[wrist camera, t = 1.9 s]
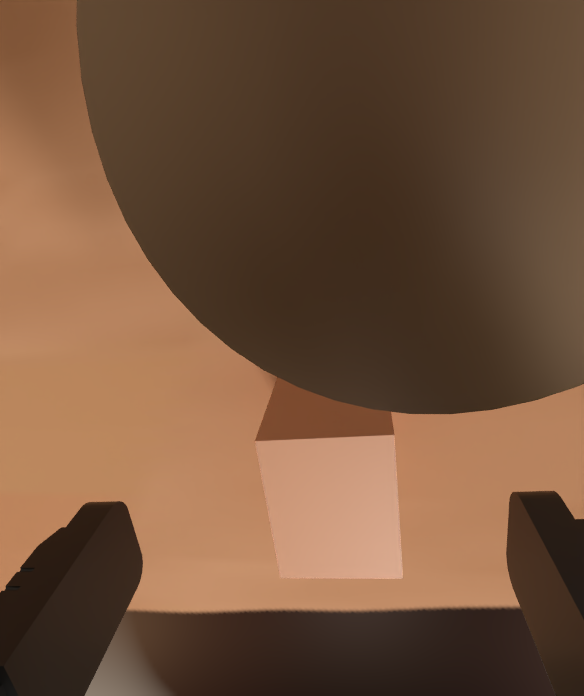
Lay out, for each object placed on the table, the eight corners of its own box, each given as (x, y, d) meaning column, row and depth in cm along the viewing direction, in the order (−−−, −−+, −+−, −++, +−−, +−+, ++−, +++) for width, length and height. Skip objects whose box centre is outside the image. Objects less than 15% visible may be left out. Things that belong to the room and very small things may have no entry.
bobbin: (522, -46, 11) (1161, -839, 2) (511, 246, 14) (800, 396, 5) (242, 11, 12) (-39, -378, 3) (279, 271, 15) (168, 427, 6)
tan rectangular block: (379, 336, 15) (394, 435, 10) (386, 440, 17) (403, 578, 11) (289, 343, 16) (255, 441, 10) (303, 443, 17) (280, 577, 11)
